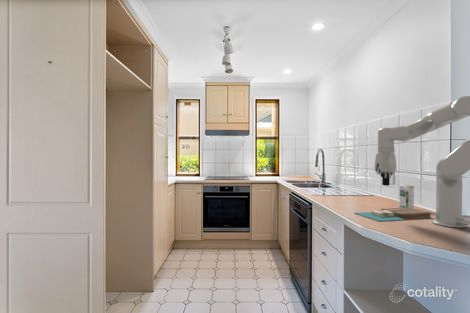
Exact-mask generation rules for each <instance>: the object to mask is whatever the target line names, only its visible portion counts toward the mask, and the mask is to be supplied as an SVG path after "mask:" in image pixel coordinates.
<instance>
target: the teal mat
mask: <svg viewBox="0 0 470 313" xmlns="http://www.w3.org/2000/svg"><path fill="white" fill-rule="evenodd" d="M354 214H355V215H358V216H361V217H363V218H367V219H370V220H373V221H376V222H392V221H394V222H396V221H406V219H402V218H398V217H395V216H390V217H378V216H375V215H372V214H371V211H369V212H368V211H367V212H366V211H365V212H354Z"/></svg>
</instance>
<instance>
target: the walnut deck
mask: <svg viewBox="0 0 470 313" xmlns="http://www.w3.org/2000/svg"><path fill="white" fill-rule="evenodd" d="M380 210H387V211H390V212H394V216H395V217H398V218H402V219H405V220H407V219H410V220H411V219H427V218H429V219H430V218H431V214H432V213H431V212H428V211H424V210H419V209H416V208H414V209H411V208H399V207H396V208H390V207H389V208H381V209H380Z"/></svg>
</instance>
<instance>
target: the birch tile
mask: <svg viewBox="0 0 470 313" xmlns="http://www.w3.org/2000/svg"><path fill="white" fill-rule="evenodd" d="M370 212H371V214H372V215H375V216H378V217H390V216H394V212H390V211H387V210H381V209H380V210H370Z"/></svg>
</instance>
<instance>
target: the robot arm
mask: <svg viewBox="0 0 470 313" xmlns="http://www.w3.org/2000/svg"><path fill="white" fill-rule="evenodd" d="M468 117H470V95H465V96H460V97H459V98H457V99H455V100H454V102H451V103H449V104H447V105H445V106H442V107H440V108H438V109H435V110H433V111H432V112H429V113H428V114H426V115H425V116H423V117H421V118H420V119H418V120H417V121H415V122H413V123H411V124H408V125H406V126H405V125H402V126H396V127H381V128H378V130H377V153H376V155H375V161H374V171H375V172H376V174H377V175H379V176H381V177H380V178H381V184H382V186H390V178H392V176H393V175H395V174H396V170H397V159H396V158H397V157H396V154H395V152H396V150H395V141H398V142H403V143H405V142H408V141H410V140H413V139H416V138H419V137H420V136H424V135H426V134H428V133H430V132H434V131H436V130H437V129H438V130H439V129H440V128H443V127H445V126H447V125H450V124H452V123H454V122H459V120H463V119H465V118H468ZM469 171H470V138H468V139H467V140H466V141H464V142H462V143H461V144H459V146H458V147H457V148H455V149H454V150H453V151H452V152H450V153H449V154H448V155H447V156H446V157H444V158H443V159H440V160H439V161H438V162H437V164H436V167H435V176H436V178H435V179H436V184H435V185H436V190H435V192H436V193H435V218H433V219H432V220H431V223H432V224H435V225H439V226H442V227H448V228H459V229H460V228H466V227H467V226H470V220H467V219H465V216H463V175H465V174H467V172H469Z"/></svg>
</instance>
